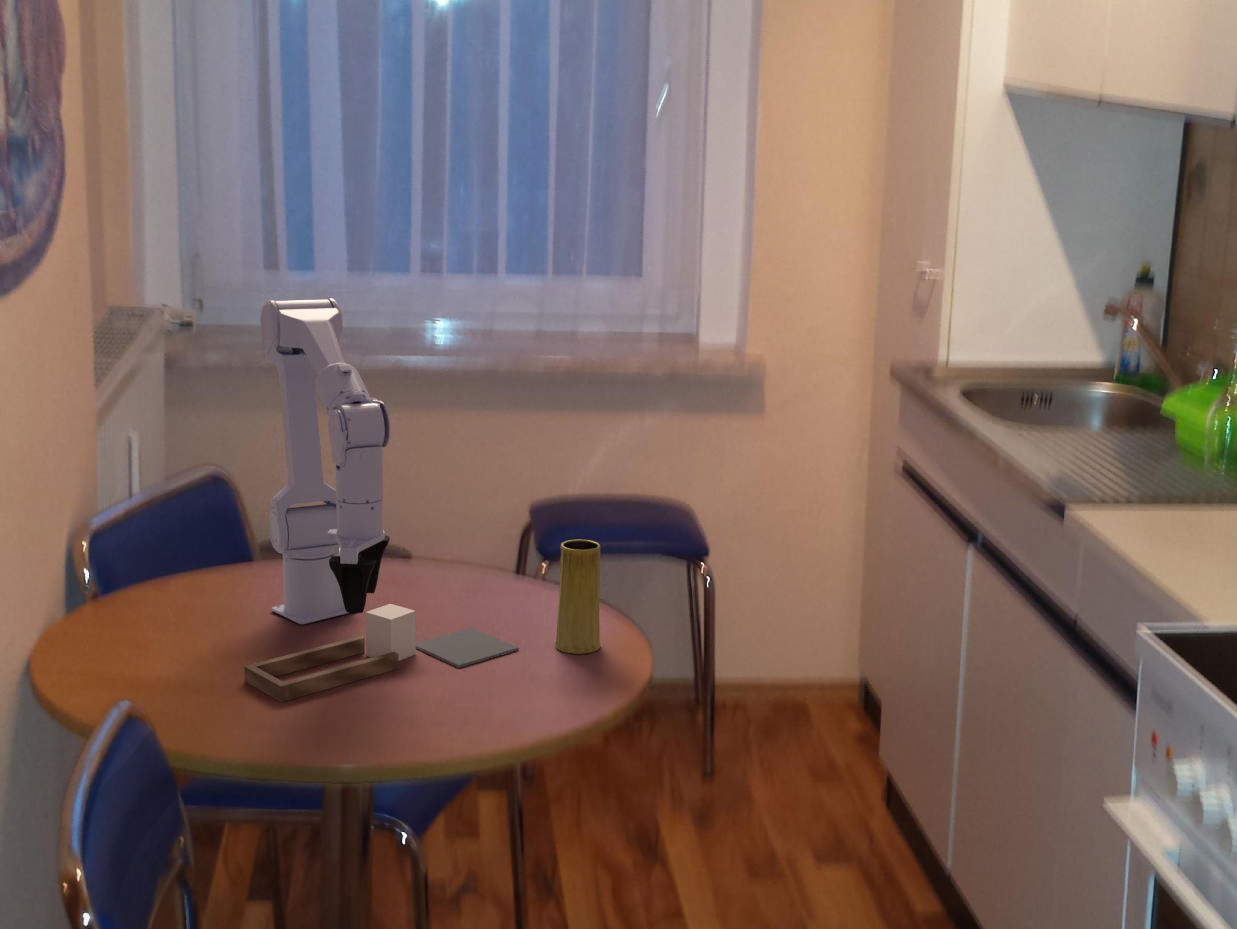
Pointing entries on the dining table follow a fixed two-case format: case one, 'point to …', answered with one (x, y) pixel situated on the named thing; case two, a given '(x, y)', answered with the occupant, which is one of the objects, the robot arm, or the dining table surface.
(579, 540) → the vase
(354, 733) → the dining table surface
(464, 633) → the slate mat
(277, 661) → the walnut channel
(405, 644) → the white block
